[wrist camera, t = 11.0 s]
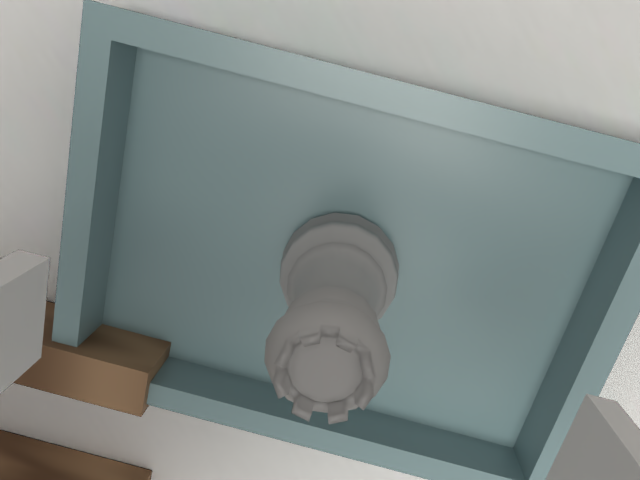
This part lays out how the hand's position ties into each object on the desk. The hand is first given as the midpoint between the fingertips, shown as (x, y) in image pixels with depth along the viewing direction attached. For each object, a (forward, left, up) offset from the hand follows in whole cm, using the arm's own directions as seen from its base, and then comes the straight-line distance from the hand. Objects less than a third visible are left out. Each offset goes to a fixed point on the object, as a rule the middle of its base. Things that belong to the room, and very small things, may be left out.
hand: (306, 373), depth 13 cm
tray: (0, 0, -9) cm, 9 cm away
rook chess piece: (0, 0, -8) cm, 8 cm away
